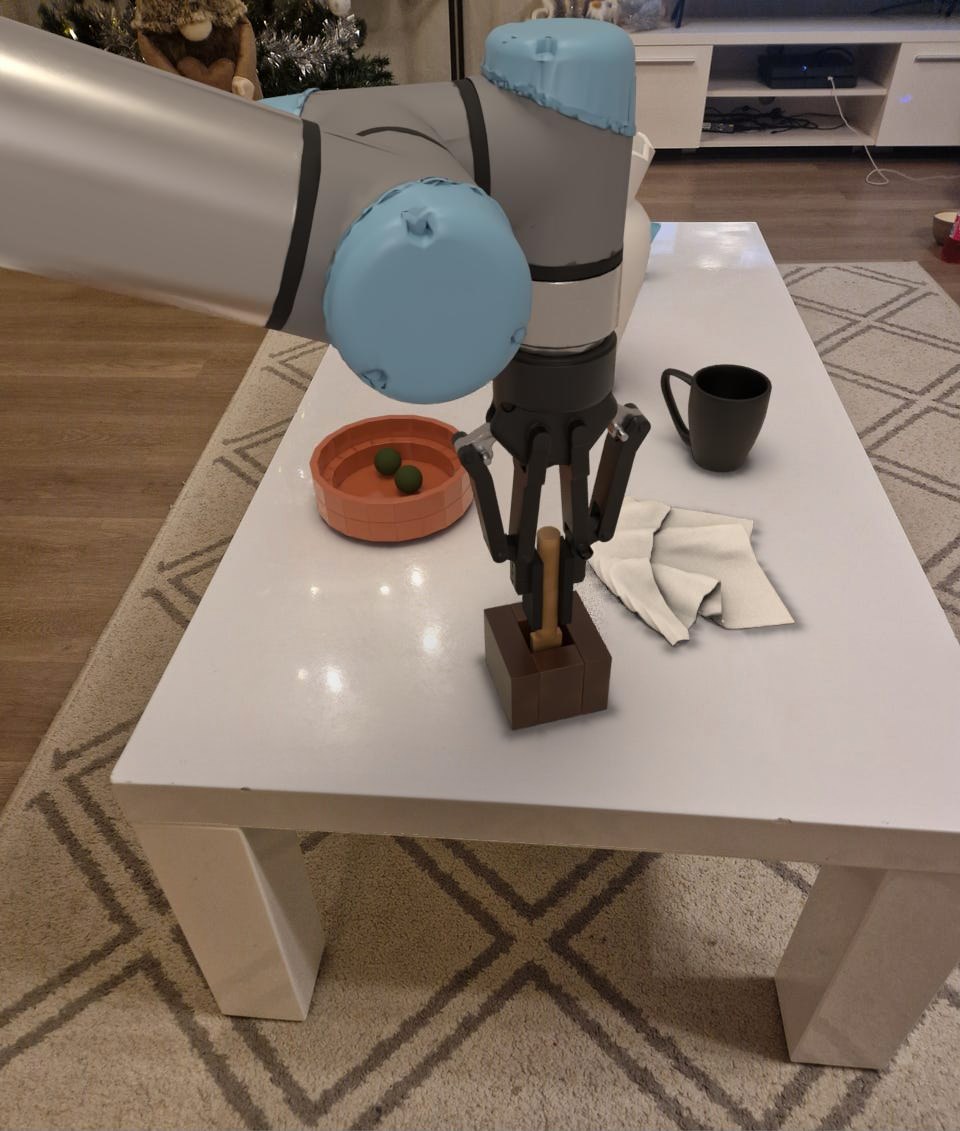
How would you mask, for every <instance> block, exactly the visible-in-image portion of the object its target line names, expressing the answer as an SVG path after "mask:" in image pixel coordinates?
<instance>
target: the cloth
mask: <svg viewBox="0 0 960 1131" xmlns="http://www.w3.org/2000/svg"><path fill="white" fill-rule="evenodd" d="M754 523H755V521H754V520H752V519H746V518H743V517H742V518H741V517H735V516H730V515H724V514H718V513H712V512H705V511H699V510H691V509H683V508H678V507H672V506H671V505H669V504H667V503H665V502H664V503H663V502H661V501H659V500H652V499H649V500H642V501H640V500H639V501H638V500H637V499H636V498H635V497H634V496H633V495H625V496H624V500H623V503H622V507H621V511H620V514H619V518H618V522H617V526H616V529H615V533H614V536H613V538H612V539H611V540H610V541H608V542H601V541H597V542H595V543H593V544H592V545H591V548H592V550H593V551H594V553H593V556H592V557H591V558H590V559H588V560H587V561H588V563H589V566H590V567H591V569H592V570H593V571H594V572H595V574H596V576H597V578H598V579H599V580H600V581H601V583H603V584H605V585H606V586H607V588H608V589H609V591H610V592H611V593H612V594H613V595H614V596H615V597H617V598H618V599H620V600H621V602H622V603H623V604H624V606H625V607H626V608H627V609H628V610H629V611H630V612H632V613H633V614H635V615H637V616H639V617H640V618H641V619H642V620H643V621H644V622H645V624H646V625H648V626H649V627H650V628H651V629H652V630H654V631H656V632H658V633H660V634H662V635H663V636H664V637H665V638H666V640H667V641H668V642H669V643H670V644H671V645H672V646H674V645H675V644H677V643H678V642H679V641H684V640H685V641H690V634H689V630H690V628H691V627H692V625H693V624H694V623H695V622H696V619H697V614H699V615H701V616H703V617H704V618H708V619H711V620H713V621H714V622H715V623H716V624H718V625H720V626H722V627H723V628H725V629H733V630H739V629H752V628H761V627H769V626H771V627H772V626H779V625H780V626H781V625H788V624H795V620H794V619H793V617H792V615H791V614H790V612H789V610H788V609H787V607H786V605H785V604H784V603H783V601H782V598H780V596H779V594H778V593H777V591H776V589H775V588H774V587H773V585H772V583H771V581H770V580H769V578H768V577H767V576H766V574H765V572H764V570H763V569H762V567H761V566H760V564H759V563H758V561H757V558H756V556H755V552H754V549H753V547H752V544H751V537H752V533H753V529H754Z"/></svg>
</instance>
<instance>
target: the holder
mask: <svg viewBox="0 0 960 1131" xmlns="http://www.w3.org/2000/svg"><path fill="white" fill-rule="evenodd" d="M557 627H559V628H560V630H561V632H562V647H559V648H554V649H549V650H545V651H540V652H536V653H532V654H531V653H530V633H532V632H535V631H532V629H531V626H530V624H529V622H528V620H527V618H526V615H525V613H524V611H523V609H522V601H518V602H513V603H510V604H509V603H507V604H503V605H498V606H493V607H487V608H484V609H483V632H484V634H483V635H484V657H485V658H484V659H485V663H486V665H487V668H488V671H489V674H490V677H491V679H492V681H493V684H494V687H495V690H496V692H497V695H498V697H499V701H500V703H501V706H502V709H503V711H504V714H505V717H506V719H507V722H508V725H509V727H510V730H511V731H512V732H513V731H517V730H522V729H525V728H530V727H535V726H538V725H542V724H546V723H551V722H556V721H559V720H564V719H568V718H572V717H578V716H580V715H581V716H582V715H587V714H591V713H595V712H600V711H604V710H608V702H609V694H610V684H611V672H612V663H613V656H612V654H611V653H610V651H609V649H608V647H607V645H606V643H605V641H604V639H603V638H602V635H601V633H600V632H599V630H598V628H597V626H596V624H595V623H594V621H593V618H592V617H591V614H590V613H589V611H588V610H587V607H586V605H585V603H584V601H583V600H582V598H581V596H580V594H579V592H578V590H575V589H574V590H573V606H572V623H570V624H565V625H562V623H561V621H560V619H559V617H558V622H557Z"/></svg>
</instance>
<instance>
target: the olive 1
mask: <svg viewBox="0 0 960 1131" xmlns="http://www.w3.org/2000/svg"><path fill="white" fill-rule="evenodd" d="M401 464H402V459H401V456H400V454H399V453H398V452H397V451H396V450H394V449H392V448H383V449H381V450H379V451H378V452H377V454H376V455H375V458H374V465H375V468H376V469H377V471H378V472H379V473H381V474H383V475H393V474H395V473H396V472H397V470H398V469H399V468H400V467H401Z"/></svg>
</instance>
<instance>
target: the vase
mask: <svg viewBox="0 0 960 1131" xmlns="http://www.w3.org/2000/svg"><path fill="white" fill-rule="evenodd" d="M655 153H656V150H655V148H654V147H653V145H652V144H651V141H650V140H649V138H648V136H647V135H646V134H644V133H642V132H640V131H638V132H636V135H635V136H633V146H632V156H631V167H630V177H629V187H628V198H627V208H626V218H625V229H624V239H623V242H624V244H623V245H624V248H623V267H622V282H621V297H620V312H619V322H618V326H617V327H616V328H615V329H614V331H615V333H616V335H617V348H616V353H617V352H618V350H619V347H620V344H621V341H622V339H623V336H624V333H625V331H626V328H627V326H628V323H629V320H630V317H631V315H632V313H633V310H634V307H635V305H636V302H637V299H638V297H639V295H640V292H641V289H642V286H643V284H644V281H645V278H646V275H647V269H648V264H649V258H650V253H651V248H652V247H651V245H652V243H651V226H650V222H651V219H650V217H649V215H648V213H647V212H646V210H645V208H644V206H643V205H642V204H641V203H640V202H639V201H638V199H636V195H637V194H638V191H639V189H640V186H641V184H642V182H643V180H644V178H645V176H646V173H647V171H648V169H649V166H650V165H651V162H652V160H653V158H654V155H655Z"/></svg>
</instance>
